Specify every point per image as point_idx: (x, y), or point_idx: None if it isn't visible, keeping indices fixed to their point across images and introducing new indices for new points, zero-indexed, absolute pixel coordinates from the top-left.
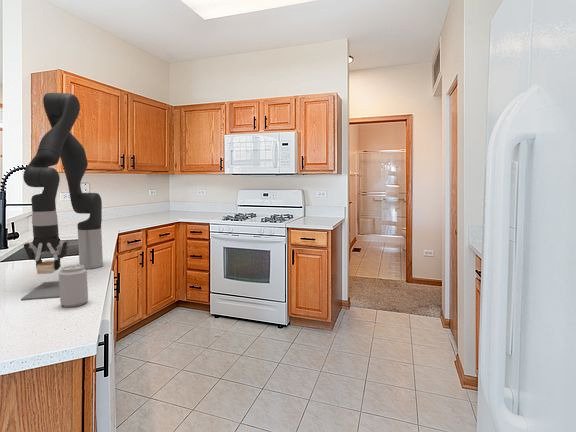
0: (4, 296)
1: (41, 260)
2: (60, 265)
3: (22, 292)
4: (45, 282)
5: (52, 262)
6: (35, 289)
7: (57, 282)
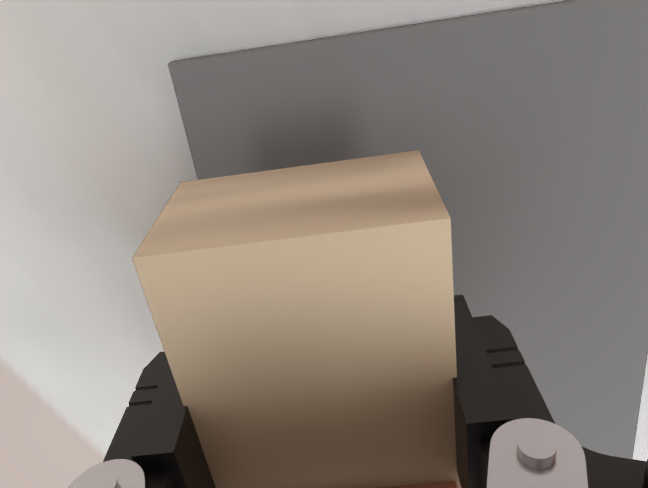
0: (94, 446)
1: (186, 476)
2: (511, 337)
3: None
4: (201, 96)
5: (402, 431)
6: None
7: (358, 115)
